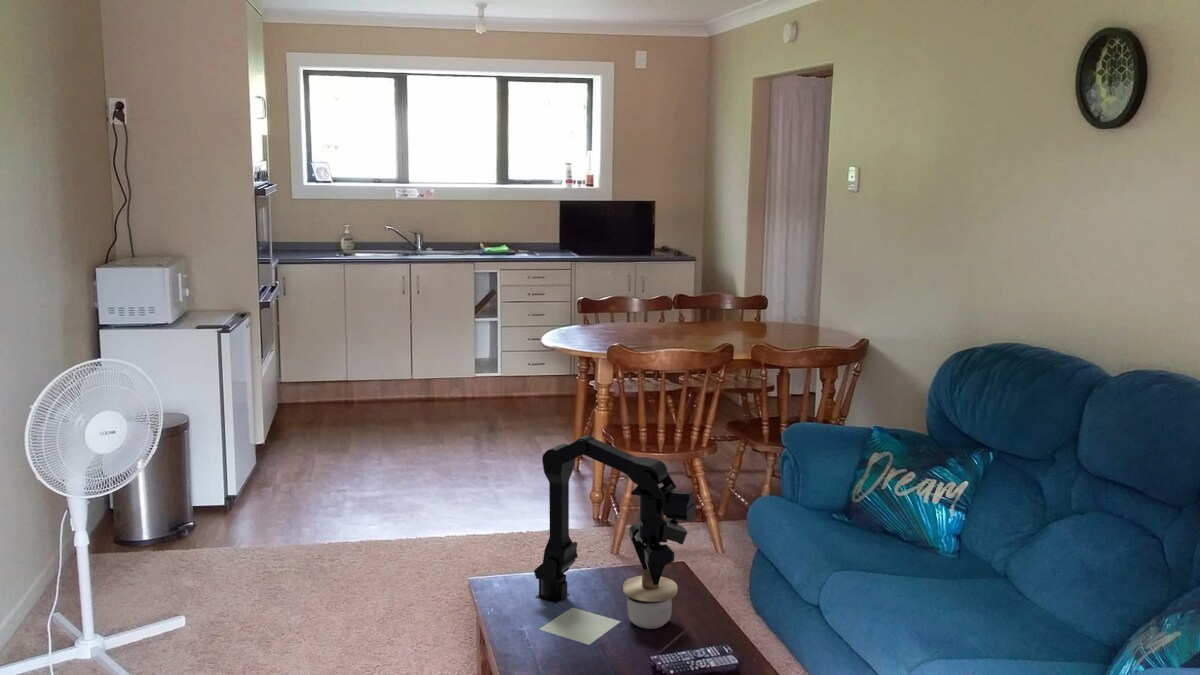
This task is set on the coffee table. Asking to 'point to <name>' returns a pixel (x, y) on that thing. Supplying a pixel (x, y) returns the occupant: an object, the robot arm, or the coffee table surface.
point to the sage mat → (580, 626)
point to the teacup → (649, 613)
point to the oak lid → (649, 588)
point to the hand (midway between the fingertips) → (650, 576)
